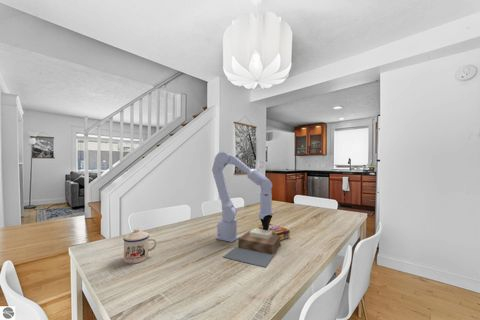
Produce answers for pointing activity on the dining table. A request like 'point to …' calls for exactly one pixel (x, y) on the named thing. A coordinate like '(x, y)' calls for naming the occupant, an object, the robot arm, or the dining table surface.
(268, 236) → the cream rectangular block
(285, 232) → the candy box
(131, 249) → the teacup with lid
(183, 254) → the dining table surface
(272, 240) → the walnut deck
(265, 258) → the slate mat
